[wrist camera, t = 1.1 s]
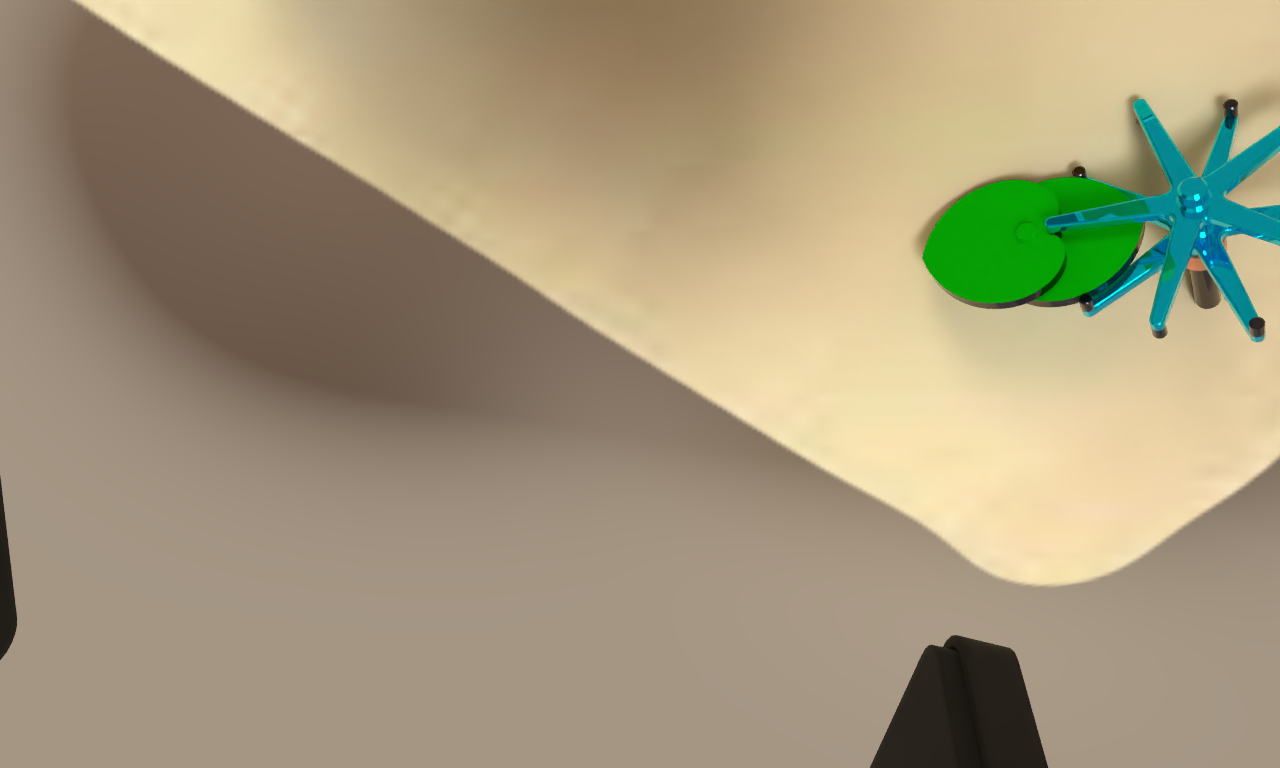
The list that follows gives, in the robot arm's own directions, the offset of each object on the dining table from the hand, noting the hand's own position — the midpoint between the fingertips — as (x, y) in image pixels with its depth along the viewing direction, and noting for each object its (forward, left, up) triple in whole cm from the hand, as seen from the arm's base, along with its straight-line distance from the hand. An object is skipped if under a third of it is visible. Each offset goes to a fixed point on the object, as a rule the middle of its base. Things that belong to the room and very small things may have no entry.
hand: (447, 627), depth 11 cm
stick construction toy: (+1, +15, -27) cm, 31 cm away
